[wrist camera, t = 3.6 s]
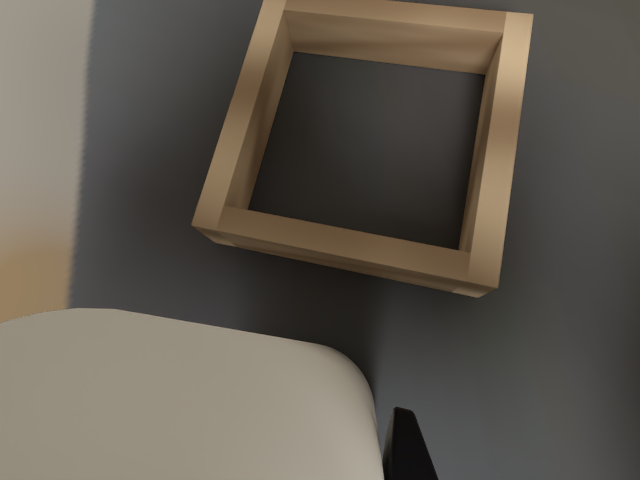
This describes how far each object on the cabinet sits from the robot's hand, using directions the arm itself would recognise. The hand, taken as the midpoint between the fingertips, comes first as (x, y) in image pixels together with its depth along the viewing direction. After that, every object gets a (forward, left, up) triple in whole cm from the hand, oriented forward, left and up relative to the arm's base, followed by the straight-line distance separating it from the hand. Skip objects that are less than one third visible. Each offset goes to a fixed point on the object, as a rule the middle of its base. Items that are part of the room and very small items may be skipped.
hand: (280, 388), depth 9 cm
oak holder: (+5, +8, -7) cm, 12 cm away
